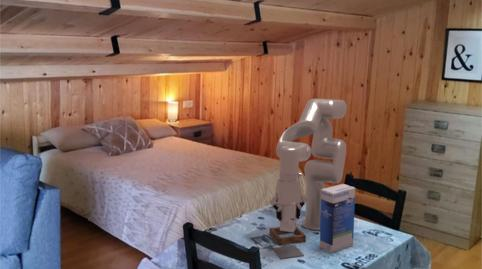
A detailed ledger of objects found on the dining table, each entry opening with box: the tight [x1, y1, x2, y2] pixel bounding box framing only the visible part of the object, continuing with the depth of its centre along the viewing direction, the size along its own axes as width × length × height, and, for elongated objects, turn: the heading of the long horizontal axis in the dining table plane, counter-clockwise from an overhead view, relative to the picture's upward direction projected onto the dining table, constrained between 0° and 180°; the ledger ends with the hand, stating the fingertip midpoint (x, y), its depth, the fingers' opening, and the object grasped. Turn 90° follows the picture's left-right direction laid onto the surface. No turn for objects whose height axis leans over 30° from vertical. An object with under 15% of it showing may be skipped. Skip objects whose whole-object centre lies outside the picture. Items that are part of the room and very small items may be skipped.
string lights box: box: [319, 183, 356, 254], centre depth 203 cm, size 13×8×26 cm, turn 124°
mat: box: [272, 244, 305, 260], centre depth 200 cm, size 10×10×1 cm
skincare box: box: [279, 203, 297, 232], centre depth 196 cm, size 6×4×12 cm
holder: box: [268, 225, 307, 246], centre depth 214 cm, size 12×12×3 cm
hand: (288, 218), depth 197 cm, fingers closed on skincare box, 7 cm apart
